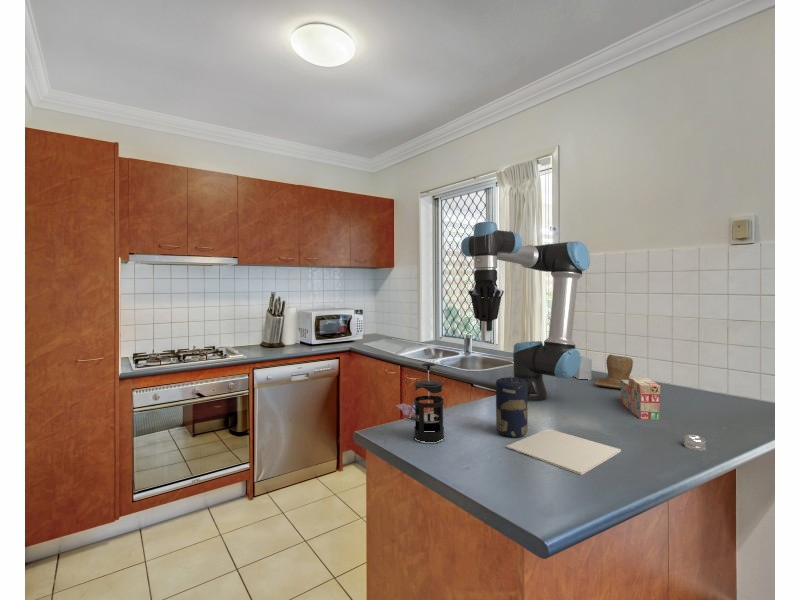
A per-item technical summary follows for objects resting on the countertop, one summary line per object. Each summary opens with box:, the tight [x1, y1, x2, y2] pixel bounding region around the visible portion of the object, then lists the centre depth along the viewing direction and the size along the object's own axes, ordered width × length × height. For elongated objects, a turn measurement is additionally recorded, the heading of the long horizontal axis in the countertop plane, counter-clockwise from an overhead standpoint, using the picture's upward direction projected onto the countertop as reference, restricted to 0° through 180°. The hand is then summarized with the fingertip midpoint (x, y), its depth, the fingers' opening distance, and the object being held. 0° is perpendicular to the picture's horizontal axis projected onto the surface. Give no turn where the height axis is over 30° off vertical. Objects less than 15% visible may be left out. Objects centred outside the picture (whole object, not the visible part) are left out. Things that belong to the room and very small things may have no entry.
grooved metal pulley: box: [683, 434, 707, 452], centre depth 114 cm, size 5×3×5 cm
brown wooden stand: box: [594, 354, 634, 390], centre depth 183 cm, size 15×12×15 cm
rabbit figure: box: [395, 402, 415, 418], centre depth 143 cm, size 6×6×15 cm
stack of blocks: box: [620, 376, 661, 421], centre depth 148 cm, size 21×6×12 cm, turn 167°
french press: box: [413, 362, 445, 442], centre depth 123 cm, size 12×9×23 cm
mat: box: [505, 428, 622, 476], centre depth 113 cm, size 22×22×1 cm
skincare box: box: [573, 355, 593, 381], centre depth 204 cm, size 10×6×10 cm, turn 179°
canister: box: [495, 376, 529, 438], centre depth 126 cm, size 10×10×18 cm
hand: (485, 340), depth 133 cm, fingers closed
